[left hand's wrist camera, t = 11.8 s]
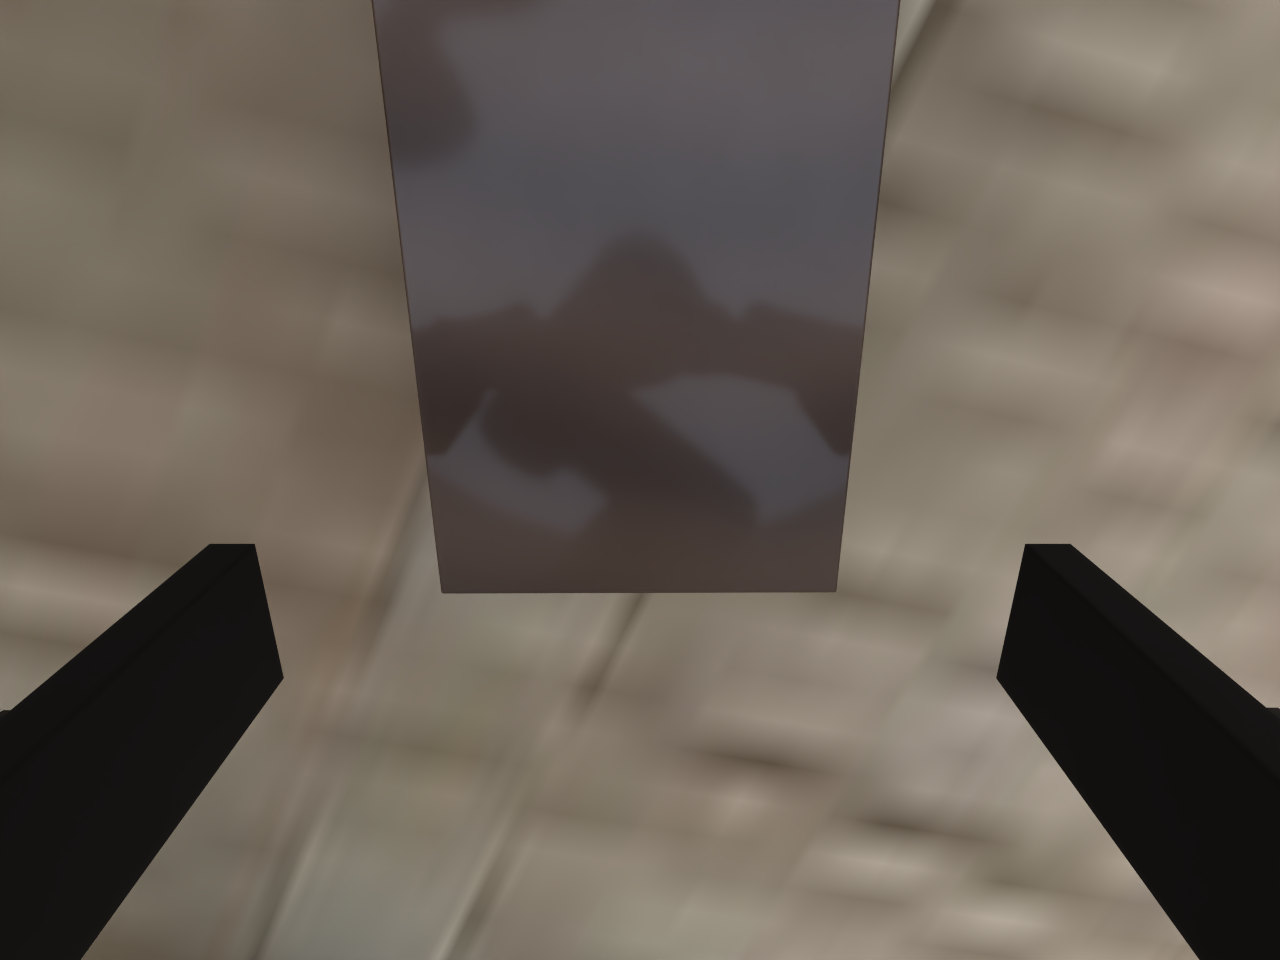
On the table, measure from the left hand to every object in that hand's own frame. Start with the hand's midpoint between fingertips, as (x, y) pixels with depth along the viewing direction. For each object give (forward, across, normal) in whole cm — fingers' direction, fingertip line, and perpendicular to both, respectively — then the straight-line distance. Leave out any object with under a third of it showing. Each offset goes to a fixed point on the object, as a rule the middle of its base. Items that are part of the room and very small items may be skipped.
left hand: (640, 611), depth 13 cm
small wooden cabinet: (+18, 0, +7) cm, 19 cm away
